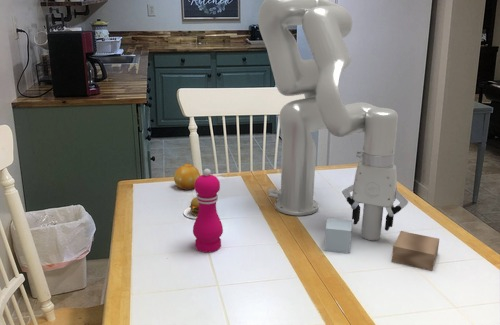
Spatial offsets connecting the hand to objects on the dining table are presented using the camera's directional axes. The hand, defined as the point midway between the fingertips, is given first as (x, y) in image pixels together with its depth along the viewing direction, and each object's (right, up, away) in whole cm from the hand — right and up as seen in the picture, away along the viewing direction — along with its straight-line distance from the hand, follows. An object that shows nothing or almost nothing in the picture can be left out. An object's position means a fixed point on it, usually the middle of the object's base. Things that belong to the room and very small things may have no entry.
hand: (371, 225), depth 130 cm
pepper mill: (-41, -5, -5) cm, 42 cm away
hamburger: (-45, +1, +14) cm, 47 cm away
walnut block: (+8, -7, -9) cm, 14 cm away
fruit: (-51, +8, +34) cm, 62 cm away
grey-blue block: (-9, -5, -4) cm, 11 cm away
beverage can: (0, -3, +1) cm, 4 cm away
